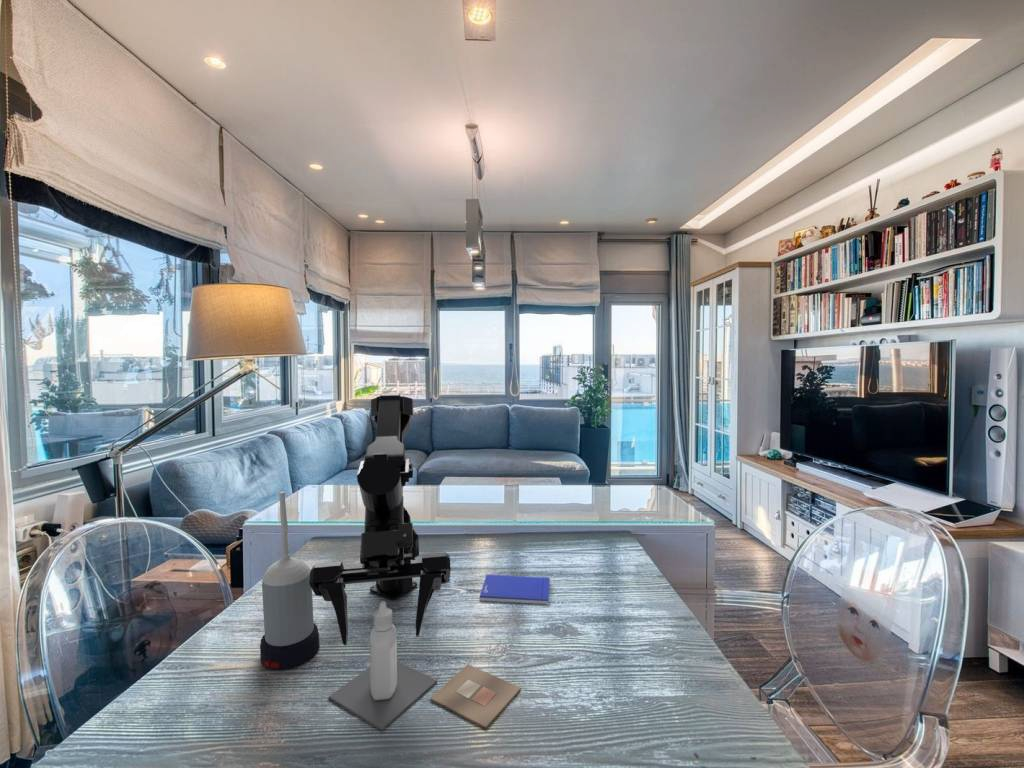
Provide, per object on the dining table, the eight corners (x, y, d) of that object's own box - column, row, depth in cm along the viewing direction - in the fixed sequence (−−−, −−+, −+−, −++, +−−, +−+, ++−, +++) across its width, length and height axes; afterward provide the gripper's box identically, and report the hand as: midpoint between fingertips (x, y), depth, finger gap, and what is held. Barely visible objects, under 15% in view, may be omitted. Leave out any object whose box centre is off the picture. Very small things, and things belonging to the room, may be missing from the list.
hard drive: (479, 595, 90) (548, 598, 88) (486, 573, 98) (549, 576, 96) (479, 603, 90) (548, 607, 88) (486, 580, 98) (549, 584, 97)
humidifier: (257, 677, 70) (247, 504, 67) (263, 643, 77) (254, 487, 75) (319, 662, 73) (312, 496, 70) (319, 631, 80) (312, 481, 78)
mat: (328, 698, 65) (328, 696, 65) (386, 657, 74) (386, 655, 74) (381, 730, 60) (381, 728, 60) (437, 682, 68) (436, 680, 68)
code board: (430, 700, 65) (430, 697, 65) (467, 665, 72) (467, 663, 72) (485, 729, 60) (485, 726, 60) (520, 689, 67) (520, 687, 67)
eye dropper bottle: (409, 677, 69) (408, 595, 68) (386, 705, 64) (384, 616, 63) (382, 670, 70) (381, 589, 69) (357, 696, 65) (355, 609, 64)
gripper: (308, 507, 67) (293, 633, 57) (448, 497, 70) (456, 614, 60) (321, 539, 75) (310, 654, 65) (446, 530, 79) (452, 637, 69)
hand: (381, 640), depth 65 cm, fingers open, 9 cm apart
